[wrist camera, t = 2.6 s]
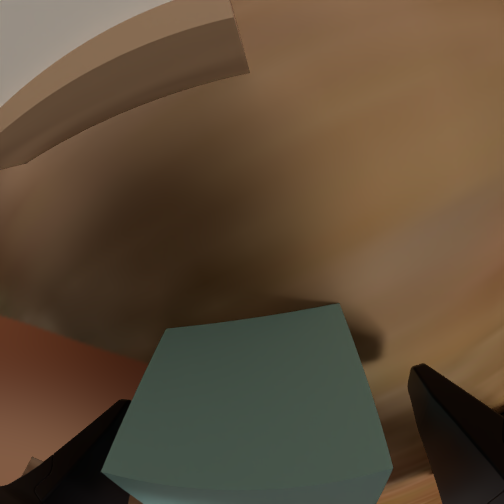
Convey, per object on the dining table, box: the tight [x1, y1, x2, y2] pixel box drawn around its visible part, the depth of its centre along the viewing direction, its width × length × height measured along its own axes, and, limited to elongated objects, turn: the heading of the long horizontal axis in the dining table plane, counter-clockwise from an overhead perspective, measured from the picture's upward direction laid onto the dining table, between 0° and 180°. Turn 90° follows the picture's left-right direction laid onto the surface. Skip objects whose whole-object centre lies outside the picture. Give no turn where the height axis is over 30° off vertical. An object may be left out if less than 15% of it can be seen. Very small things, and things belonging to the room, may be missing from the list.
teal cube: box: [101, 303, 393, 504], centre depth 6 cm, size 5×5×5 cm
